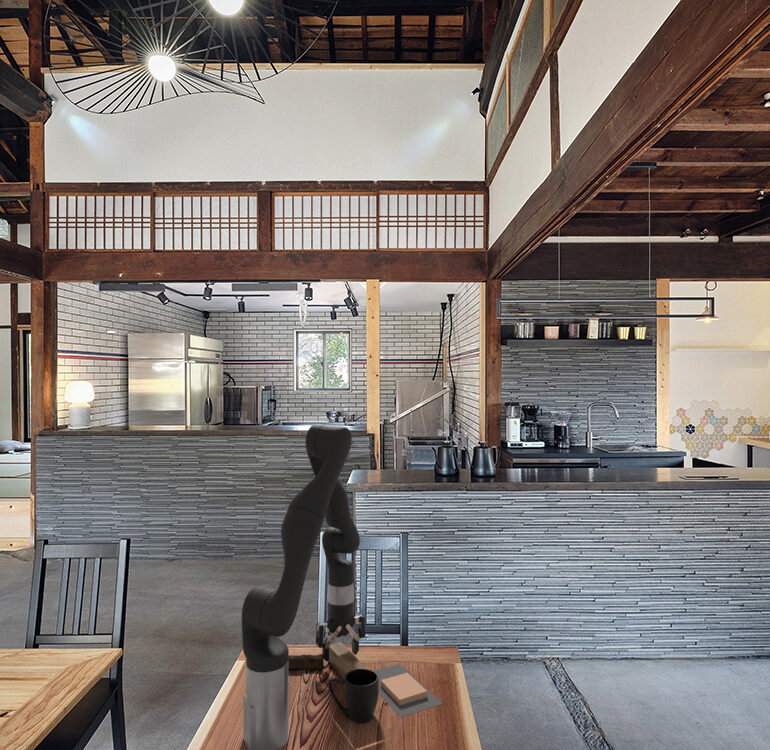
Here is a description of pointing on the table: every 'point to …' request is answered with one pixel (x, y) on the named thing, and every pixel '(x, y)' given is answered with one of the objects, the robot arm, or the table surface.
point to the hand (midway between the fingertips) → (340, 656)
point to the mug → (358, 694)
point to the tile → (403, 689)
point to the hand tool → (306, 662)
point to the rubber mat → (410, 707)
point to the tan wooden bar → (343, 659)
